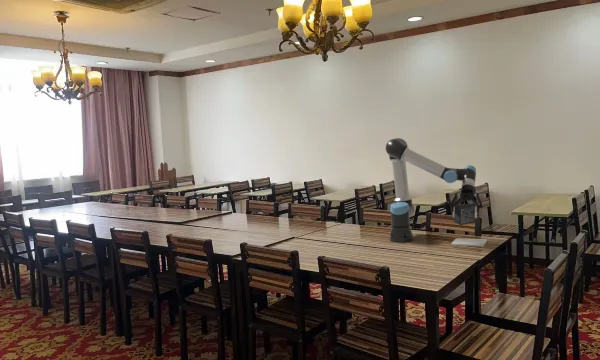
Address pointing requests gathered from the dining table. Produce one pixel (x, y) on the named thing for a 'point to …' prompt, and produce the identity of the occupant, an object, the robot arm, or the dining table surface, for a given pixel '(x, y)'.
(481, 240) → the mat
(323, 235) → the dining table surface
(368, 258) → the dining table surface
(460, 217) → the small box
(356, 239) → the dining table surface
